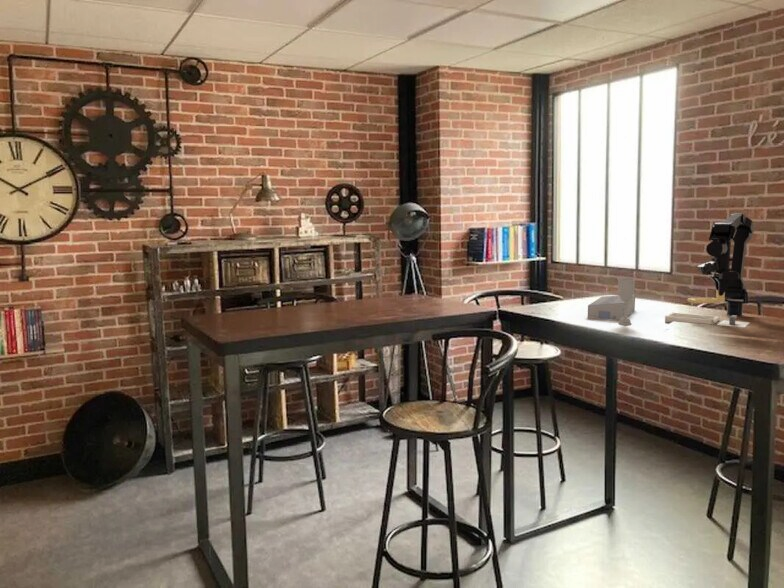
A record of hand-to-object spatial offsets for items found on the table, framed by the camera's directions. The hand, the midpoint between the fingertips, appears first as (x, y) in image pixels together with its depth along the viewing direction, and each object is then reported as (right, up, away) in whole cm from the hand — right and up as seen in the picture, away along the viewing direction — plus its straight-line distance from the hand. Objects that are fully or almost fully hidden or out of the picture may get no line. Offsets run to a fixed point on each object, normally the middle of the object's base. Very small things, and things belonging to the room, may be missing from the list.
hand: (719, 295), depth 255 cm
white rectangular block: (+3, -12, -3) cm, 13 cm away
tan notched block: (-5, -3, +1) cm, 5 cm away
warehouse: (-33, -9, +28) cm, 44 cm away
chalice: (-36, -12, +3) cm, 38 cm away
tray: (-8, -11, +5) cm, 15 cm away
